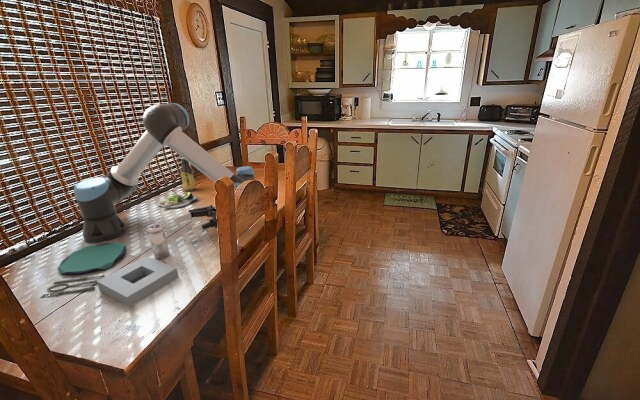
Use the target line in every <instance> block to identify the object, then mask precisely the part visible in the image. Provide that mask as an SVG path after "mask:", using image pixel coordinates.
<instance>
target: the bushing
mask: <svg viewBox="0 0 640 400" xmlns="http://www.w3.org/2000/svg"><path fill="white" fill-rule="evenodd" d="M165 229H166V224H165V223H164V222H155V223H151V224H149V225H147V226H146V227H145V232H146V233H147V234H148V236H149V241H150V244H151V247H152V252H153V256H154V259H155V260H158V261H160V260H164V259H167V258H168V257H169V256H170V255H171V253H170V248H169V244H168V240H167V236H166V232H165Z"/></svg>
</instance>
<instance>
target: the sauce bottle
mask: <svg viewBox="0 0 640 400" xmlns="http://www.w3.org/2000/svg"><path fill="white" fill-rule="evenodd" d="M180 161H181V170H180V175H181V181H182V187H183V190H184V192H192V191H195V189H196V188H195V180H194V173H193V169H192V167H191V166H190V165H191V164H190V163H189V162H188V161H187V160H185V159H184V158H183V157H182V156H181V157H180Z"/></svg>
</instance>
